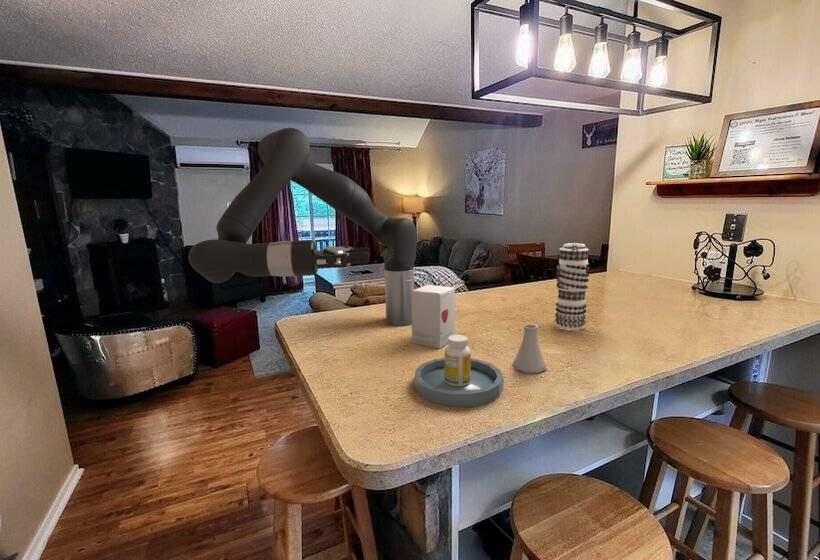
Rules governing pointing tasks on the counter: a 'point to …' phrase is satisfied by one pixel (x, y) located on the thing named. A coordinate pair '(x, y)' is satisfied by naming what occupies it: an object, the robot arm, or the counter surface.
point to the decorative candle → (572, 286)
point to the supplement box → (433, 315)
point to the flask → (529, 352)
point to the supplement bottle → (457, 361)
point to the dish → (479, 390)
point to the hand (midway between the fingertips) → (369, 255)
